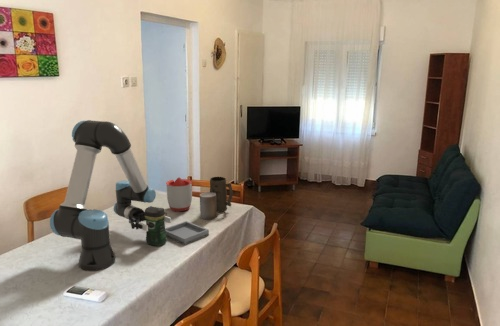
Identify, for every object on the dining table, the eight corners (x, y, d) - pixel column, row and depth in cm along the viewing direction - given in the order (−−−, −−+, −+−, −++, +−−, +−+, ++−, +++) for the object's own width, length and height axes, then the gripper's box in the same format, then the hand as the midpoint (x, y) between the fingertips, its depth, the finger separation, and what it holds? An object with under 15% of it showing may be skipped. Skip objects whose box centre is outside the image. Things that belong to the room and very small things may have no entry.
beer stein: (205, 210, 243) (207, 179, 238) (212, 205, 253) (213, 175, 248) (229, 215, 239) (231, 183, 234) (235, 209, 249) (237, 178, 244)
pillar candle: (219, 214, 237) (218, 190, 234) (213, 220, 228) (212, 195, 224) (203, 213, 239) (202, 189, 236) (197, 219, 230) (196, 194, 227)
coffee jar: (169, 241, 200) (167, 206, 195) (159, 247, 192) (157, 211, 188) (153, 238, 203) (151, 203, 199) (143, 244, 196) (141, 208, 192)
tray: (184, 244, 196) (184, 239, 195) (162, 234, 208) (162, 229, 207) (208, 235, 208) (208, 229, 207) (186, 226, 219) (186, 221, 219)
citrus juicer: (190, 202, 258) (189, 172, 254) (194, 211, 242) (193, 179, 237) (165, 205, 253) (164, 174, 249) (168, 214, 237) (167, 181, 233)
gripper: (155, 214, 217) (179, 224, 204) (113, 227, 199) (137, 239, 185) (154, 201, 216) (179, 210, 202) (112, 213, 197) (136, 224, 184)
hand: (159, 224), depth 194 cm, fingers open, 13 cm apart
